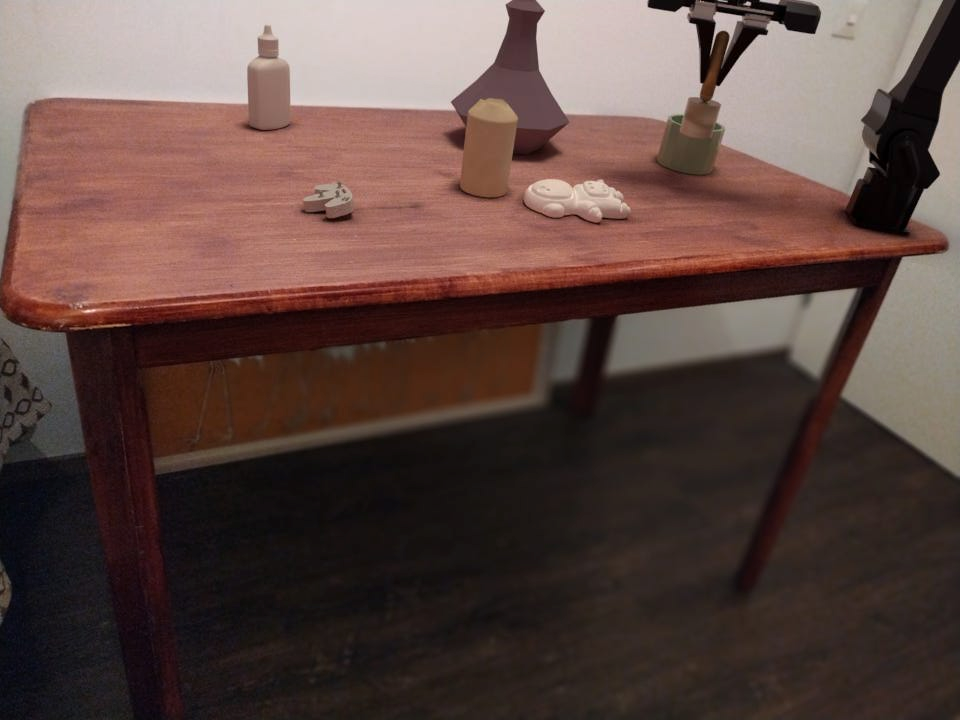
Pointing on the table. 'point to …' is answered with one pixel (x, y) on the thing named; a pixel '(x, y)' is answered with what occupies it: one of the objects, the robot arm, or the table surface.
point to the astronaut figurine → (576, 200)
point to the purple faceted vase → (518, 82)
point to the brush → (706, 96)
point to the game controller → (331, 200)
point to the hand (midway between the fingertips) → (709, 84)
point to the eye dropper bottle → (268, 85)
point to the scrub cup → (688, 148)
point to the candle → (488, 148)
